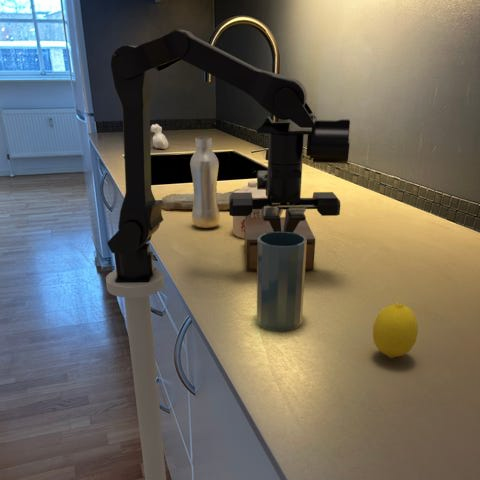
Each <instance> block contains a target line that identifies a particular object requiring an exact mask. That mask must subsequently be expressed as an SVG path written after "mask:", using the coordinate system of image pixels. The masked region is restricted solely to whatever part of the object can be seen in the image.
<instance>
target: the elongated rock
mask: <svg viewBox="0 0 480 480" xmlns="http://www.w3.org/2000/svg"><path fill="white" fill-rule="evenodd" d="M240 189H241V188H236V189H234V190H233V191H227V192H224V193H223V192H217V203H218V208H219V211H228V210H229V196H230V195H231V194H232V193H233V192H235V191H237V190H240ZM264 190H266V189H264ZM161 200H162V209H164V210H166V211H170V210H193V200H194V193H185V194H184V193H183V194H181V193H171V194H167V195H165V196H164V197H162V198H161ZM272 204H278V203H272ZM287 204H289V203H287Z"/></svg>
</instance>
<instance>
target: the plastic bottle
mask: <svg viewBox="0 0 480 480" xmlns="http://www.w3.org/2000/svg"><path fill="white" fill-rule="evenodd" d="M194 141H195V142H194V143H195V144H194V148H196V149H195V151H194V152H193V154H192V156H191V158H190V162H189V165H190V172H191V178H192V186H193V194H194V200H193V210H192V211H191V220H192V223H193V224H194V226H195V227H197V228H202V229H210V228H215V227H217V226H218V224H219V222H220V217H221V215H220V210H219V208H218V203H217V193H218V191H217V190H218V189H217V186H218V175H219V165H220V161H219V159H218V157H217V155H216V154H215V153H214V151H213V150H212V148H213V139H212V137H208V136H198V137H195V139H194Z"/></svg>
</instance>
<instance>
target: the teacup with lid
mask: <svg viewBox="0 0 480 480" xmlns="http://www.w3.org/2000/svg"><path fill="white" fill-rule="evenodd" d="M239 189H240V190H237V189H236V190H237V191H235V192H233V193H252V198H267V196H266V190H264V189H257V180H256V181H255V180H249V181H247V185H246V186H243V187H242V188H239ZM278 204H280V203H278ZM283 212H284V209H279V215H280V217H282V214H283ZM253 217H262V209H253V212H252V213H251V214H250V215H249V216H232V233H233V236H236V237H237V238H240V239H244V227H245V218H253Z"/></svg>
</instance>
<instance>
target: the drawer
mask: <svg viewBox="0 0 480 480" xmlns="http://www.w3.org/2000/svg"><path fill="white" fill-rule="evenodd" d="M257 251H258V244H250V269H257ZM312 251H313V245H312V244H307V246H306V262H305V268H311V266H312Z"/></svg>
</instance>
